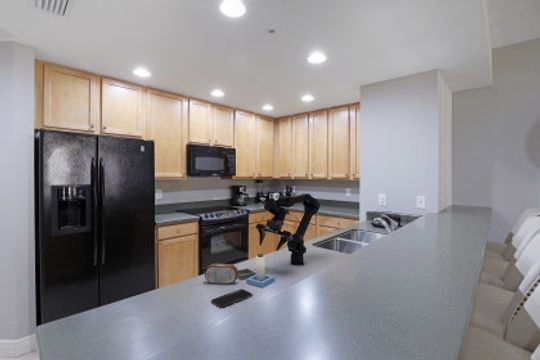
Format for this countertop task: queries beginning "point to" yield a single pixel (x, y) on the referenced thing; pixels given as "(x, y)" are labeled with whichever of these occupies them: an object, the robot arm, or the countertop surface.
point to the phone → (231, 298)
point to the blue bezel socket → (260, 284)
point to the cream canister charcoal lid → (260, 267)
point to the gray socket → (245, 276)
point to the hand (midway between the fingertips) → (268, 248)
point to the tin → (221, 273)
